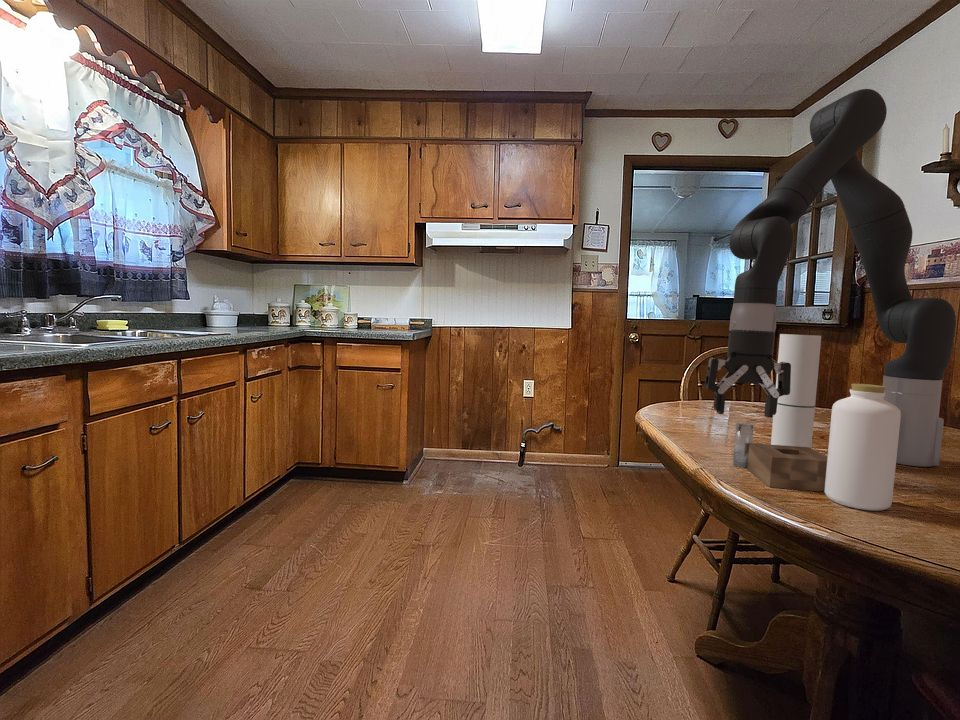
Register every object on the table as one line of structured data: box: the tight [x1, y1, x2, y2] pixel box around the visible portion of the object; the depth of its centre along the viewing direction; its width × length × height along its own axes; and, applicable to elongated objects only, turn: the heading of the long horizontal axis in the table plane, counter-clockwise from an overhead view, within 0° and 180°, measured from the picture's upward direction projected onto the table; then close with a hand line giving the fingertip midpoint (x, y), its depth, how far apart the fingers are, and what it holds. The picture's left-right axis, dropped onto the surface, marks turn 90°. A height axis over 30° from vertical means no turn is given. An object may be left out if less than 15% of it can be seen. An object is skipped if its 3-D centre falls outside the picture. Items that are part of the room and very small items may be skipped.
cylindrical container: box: [770, 333, 822, 449], centre depth 106 cm, size 7×7×25 cm
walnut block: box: [747, 442, 828, 492], centre depth 89 cm, size 10×10×5 cm
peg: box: [732, 421, 755, 469], centre depth 98 cm, size 3×3×8 cm
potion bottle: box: [824, 383, 901, 512], centre depth 78 cm, size 8×8×18 cm
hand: (743, 415), depth 97 cm, fingers open, 8 cm apart
